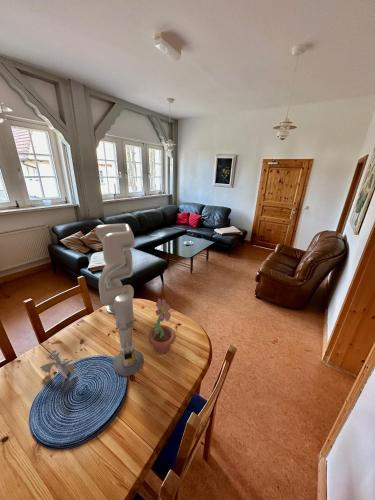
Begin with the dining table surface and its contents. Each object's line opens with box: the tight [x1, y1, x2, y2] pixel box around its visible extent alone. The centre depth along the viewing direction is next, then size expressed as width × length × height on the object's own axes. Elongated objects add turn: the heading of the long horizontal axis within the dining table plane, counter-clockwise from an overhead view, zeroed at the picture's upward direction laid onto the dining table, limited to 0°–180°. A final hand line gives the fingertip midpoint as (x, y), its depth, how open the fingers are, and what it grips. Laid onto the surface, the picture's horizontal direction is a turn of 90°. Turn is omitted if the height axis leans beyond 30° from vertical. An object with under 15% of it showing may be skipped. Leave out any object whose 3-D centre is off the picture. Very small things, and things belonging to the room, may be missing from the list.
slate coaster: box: [112, 349, 144, 377], centre depth 99 cm, size 14×14×1 cm
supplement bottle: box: [119, 341, 136, 366], centre depth 96 cm, size 7×7×13 cm
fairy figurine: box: [39, 349, 78, 387], centre depth 88 cm, size 10×18×14 cm, turn 64°
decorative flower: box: [147, 298, 176, 355], centre depth 101 cm, size 15×14×30 cm
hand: (127, 349), depth 96 cm, fingers open, 9 cm apart
